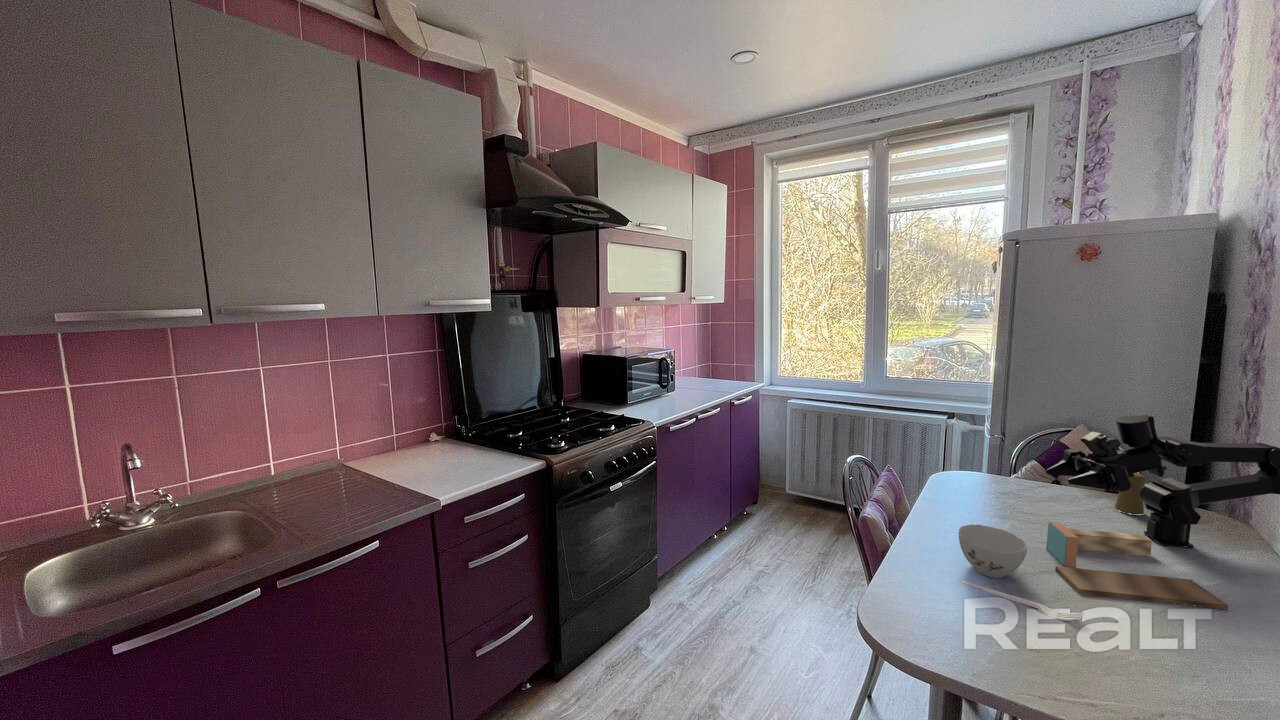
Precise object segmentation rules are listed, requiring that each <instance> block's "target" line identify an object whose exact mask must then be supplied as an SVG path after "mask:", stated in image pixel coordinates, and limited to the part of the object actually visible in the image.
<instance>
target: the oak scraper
mask: <svg viewBox="0 0 1280 720" xmlns="http://www.w3.org/2000/svg"><path fill="white" fill-rule="evenodd" d="M1066 528H1067V529H1068V530H1070V531H1071V532H1072V533H1073V534H1075V535H1076V536H1077V537H1078V549H1077V550H1083V551H1091V552H1092V551H1093V552H1103V553H1104V552H1105V553H1112V554H1115V553H1116V554H1123V553H1124V554H1125V555H1133V554H1135V555H1134V556H1144V555H1149V556H1148V557H1151V553H1152V551H1151V550H1152V543H1153V539H1150V537H1148V536H1147V535H1145V534H1137V533H1125V532H1113V531H1103V530H1102V531H1101V530H1089V529H1088V530H1087V529H1079V528H1069V527H1066Z"/></svg>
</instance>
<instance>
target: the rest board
mask: <svg viewBox="0 0 1280 720" xmlns="http://www.w3.org/2000/svg"><path fill="white" fill-rule="evenodd" d="M1054 569H1055V572H1056V573H1057V574H1058V575H1059V576H1060V577H1061V578H1062V579H1064V581H1066V583H1067V584H1068V585H1069V586H1071V588H1073V589H1074V591H1075V592H1077V594H1080V595H1091V596H1100V597H1108V598H1117V599H1126V600H1127V599H1128V600H1137V601H1144V600H1146V601H1144V602H1152V601H1157V602H1156V603H1163V604H1171V603H1173V604H1172V605H1180V604H1187V605H1186V606H1189V605H1196V606H1195V607H1198V606H1202V607H1201V608H1207V607H1209V608H1208V609H1218V610H1225V611H1227V610H1228V606H1229V605H1228V604H1227V603H1226V602H1224V601H1223V600H1222V599H1221V598H1218V597H1217V596H1216V595H1215V594H1213V593H1211V592H1210V591H1209V590H1207V589H1206V588H1204V587H1203V586H1201V585H1200V584H1198V583H1197V582H1196V581H1194V580H1193V579H1189V578H1179V577H1168V576H1158V575H1148V574H1139V573H1138V574H1137V573H1129V572H1121V571H1119V572H1118V571H1108V570H1098V569H1090V568H1089V569H1088V568H1079V567H1066V566H1055V567H1054ZM1147 600H1148V601H1147ZM1174 603H1176V604H1174Z"/></svg>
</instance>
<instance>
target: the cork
mask: <svg viewBox="0 0 1280 720" xmlns="http://www.w3.org/2000/svg"><path fill="white" fill-rule="evenodd" d="M1133 474H1134V477H1129V479H1130V482H1131V485H1132V486H1131V487H1130V489H1129V490H1127V491H1123V492H1118V495H1117V498H1116V501H1115V504H1114V507H1115V508H1116V509H1117V510H1120V511H1122V512H1125V513H1131V514H1143V513H1144V514H1145V511H1144V510H1145V508H1144V502H1143V501H1142V500H1141V497H1140V492H1141V489H1142V488H1143V486H1144V485H1146V480H1147V479H1146V477H1145V476H1144V475H1143V474H1141V473H1140V472H1137V473H1133Z"/></svg>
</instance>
